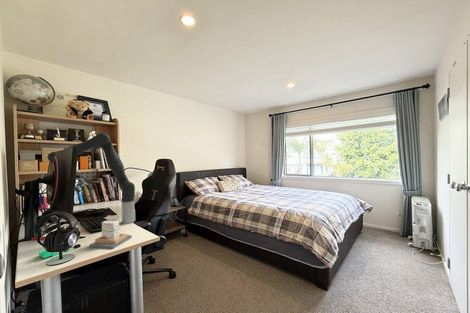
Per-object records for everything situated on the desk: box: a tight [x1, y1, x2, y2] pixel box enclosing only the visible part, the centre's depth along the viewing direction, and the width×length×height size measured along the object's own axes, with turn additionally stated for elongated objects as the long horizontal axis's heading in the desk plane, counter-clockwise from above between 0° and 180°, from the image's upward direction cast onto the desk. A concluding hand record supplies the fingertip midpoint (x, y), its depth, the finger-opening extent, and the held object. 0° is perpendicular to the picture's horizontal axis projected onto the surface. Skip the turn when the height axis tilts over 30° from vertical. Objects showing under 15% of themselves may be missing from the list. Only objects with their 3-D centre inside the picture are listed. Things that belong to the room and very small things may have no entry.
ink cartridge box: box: [101, 215, 120, 240], centre depth 127 cm, size 9×5×15 cm, turn 81°
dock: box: [89, 233, 133, 249], centre depth 127 cm, size 16×16×4 cm
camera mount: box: [38, 249, 65, 259], centre depth 114 cm, size 12×8×10 cm, turn 151°
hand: (85, 190), depth 140 cm, fingers open, 8 cm apart
